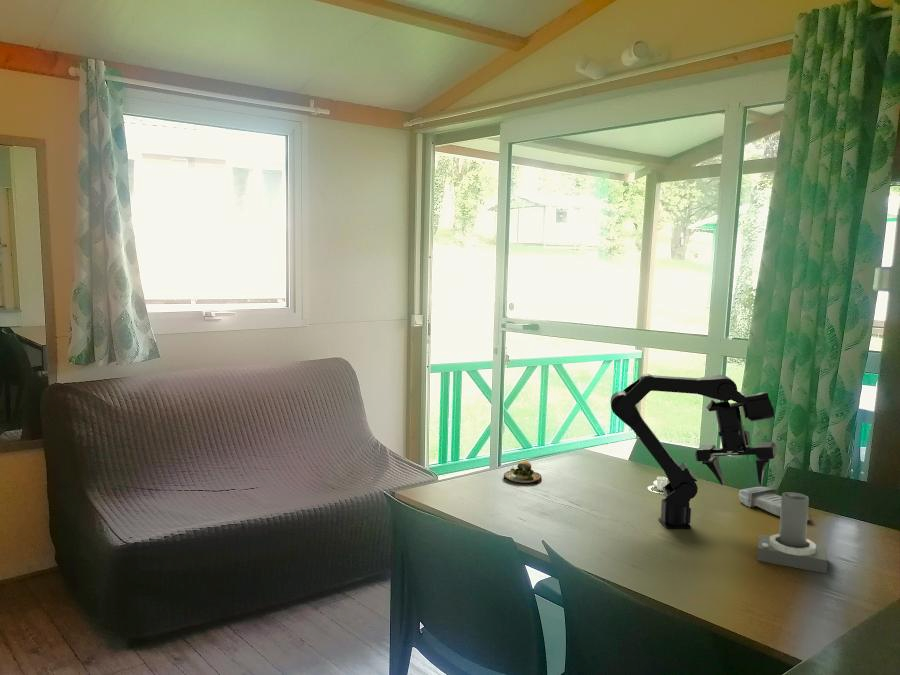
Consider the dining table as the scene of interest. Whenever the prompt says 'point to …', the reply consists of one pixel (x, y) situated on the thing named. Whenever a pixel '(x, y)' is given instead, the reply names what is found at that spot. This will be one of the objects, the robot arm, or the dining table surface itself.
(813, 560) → the grey rectangular block
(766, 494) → the handheld device
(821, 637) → the dining table surface
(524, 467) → the brown round piece
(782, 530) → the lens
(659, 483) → the teacup and saucer
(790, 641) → the dining table surface
